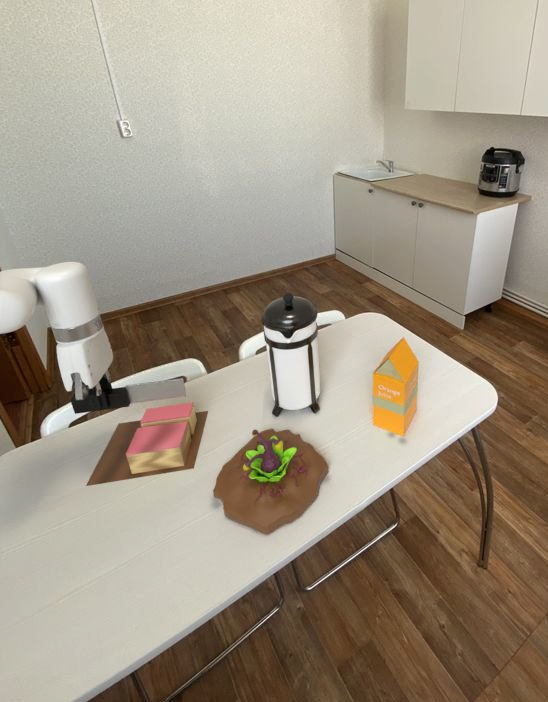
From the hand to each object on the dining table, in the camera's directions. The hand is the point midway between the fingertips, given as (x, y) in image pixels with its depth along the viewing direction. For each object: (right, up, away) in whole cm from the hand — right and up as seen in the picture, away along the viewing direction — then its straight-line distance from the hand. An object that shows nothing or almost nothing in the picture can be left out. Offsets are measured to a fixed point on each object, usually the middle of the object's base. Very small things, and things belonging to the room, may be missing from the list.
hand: (103, 403), depth 78 cm
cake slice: (+10, -10, +9) cm, 16 cm away
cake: (+8, -12, +6) cm, 15 cm away
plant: (+35, -15, -2) cm, 38 cm away
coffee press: (+36, -6, +20) cm, 42 cm away
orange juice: (+61, -9, +13) cm, 63 cm away
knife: (+5, 0, +1) cm, 6 cm away
